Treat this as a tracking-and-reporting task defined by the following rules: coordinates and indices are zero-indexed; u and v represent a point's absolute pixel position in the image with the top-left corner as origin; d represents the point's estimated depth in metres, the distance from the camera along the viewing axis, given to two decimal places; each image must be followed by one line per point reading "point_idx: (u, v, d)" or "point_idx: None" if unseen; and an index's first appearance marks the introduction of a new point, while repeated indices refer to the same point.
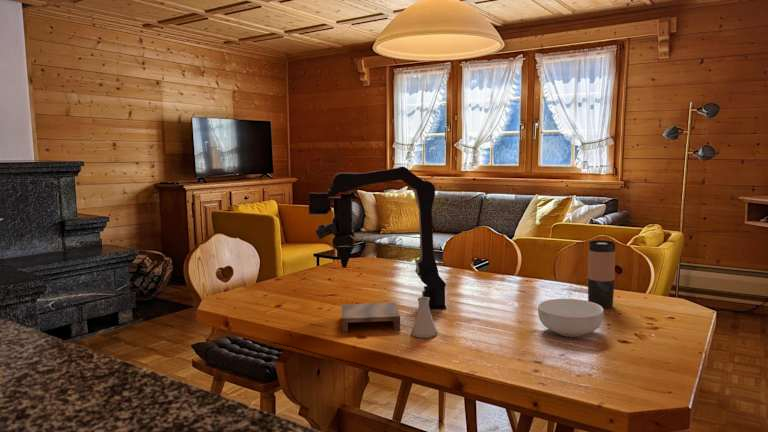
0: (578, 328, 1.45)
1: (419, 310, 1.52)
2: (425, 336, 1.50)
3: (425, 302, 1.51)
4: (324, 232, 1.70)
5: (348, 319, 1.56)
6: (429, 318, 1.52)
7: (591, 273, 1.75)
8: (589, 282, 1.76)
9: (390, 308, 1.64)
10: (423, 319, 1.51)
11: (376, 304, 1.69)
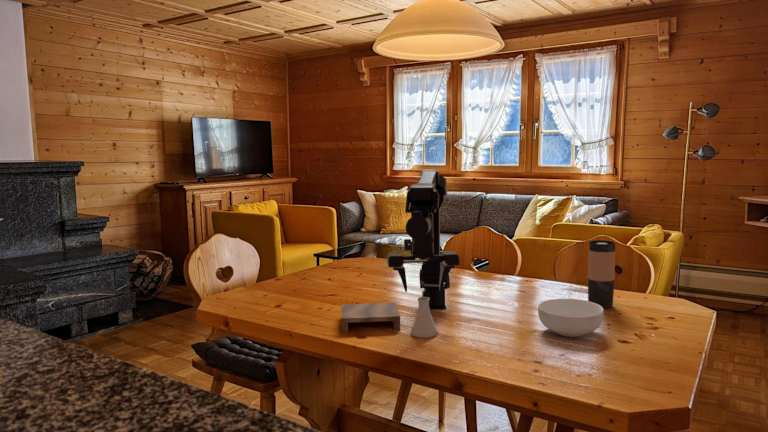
0: (578, 328, 1.45)
1: (419, 310, 1.52)
2: (425, 336, 1.50)
3: (425, 302, 1.51)
4: (404, 248, 1.56)
5: (348, 319, 1.56)
6: (429, 318, 1.52)
7: (591, 273, 1.75)
8: (589, 282, 1.76)
9: (390, 308, 1.64)
10: (423, 319, 1.51)
11: (376, 304, 1.69)
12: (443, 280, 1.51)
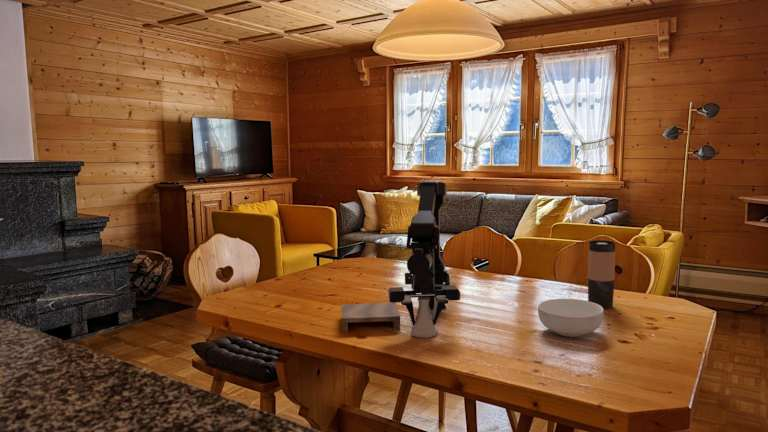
0: (578, 328, 1.45)
1: (419, 310, 1.52)
2: (425, 336, 1.50)
3: (425, 302, 1.51)
4: (405, 281, 1.57)
5: (348, 319, 1.56)
6: (429, 318, 1.52)
7: (591, 273, 1.75)
8: (589, 282, 1.76)
9: (390, 308, 1.64)
10: (423, 318, 1.51)
11: (376, 304, 1.69)
12: (437, 315, 1.52)
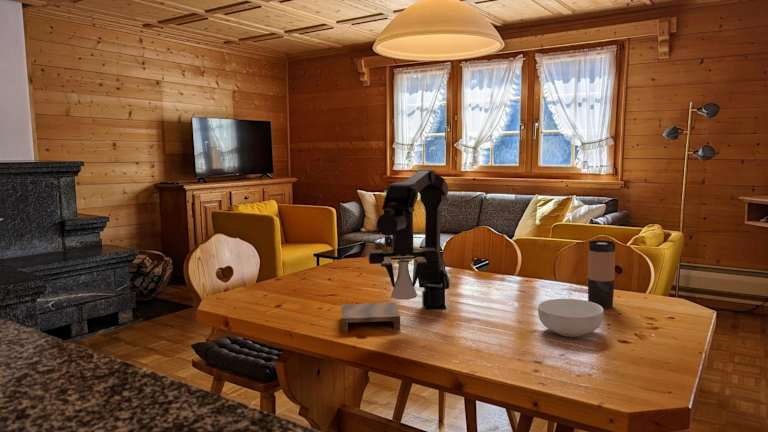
0: (578, 328, 1.45)
1: (399, 273, 1.54)
2: (405, 298, 1.53)
3: (405, 264, 1.54)
4: (385, 244, 1.59)
5: (348, 319, 1.56)
6: (409, 280, 1.54)
7: (591, 273, 1.75)
8: (589, 282, 1.76)
9: (390, 308, 1.64)
10: (403, 281, 1.53)
11: (376, 304, 1.69)
12: (416, 276, 1.54)
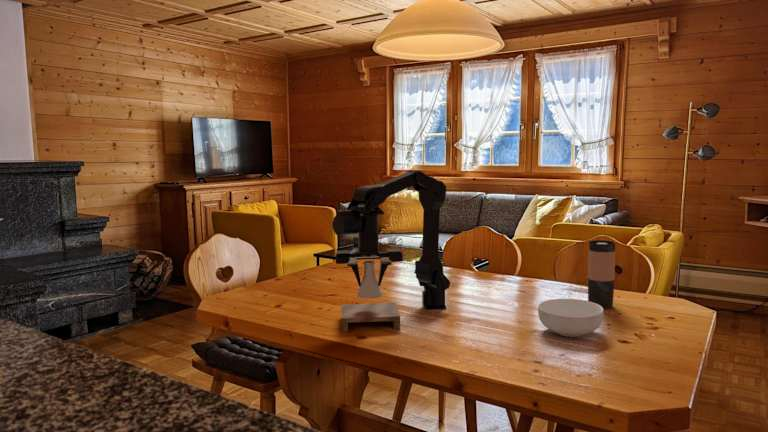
0: (578, 328, 1.45)
1: (365, 273, 1.61)
2: (370, 297, 1.59)
3: (370, 265, 1.60)
4: (353, 245, 1.66)
5: (348, 319, 1.56)
6: (374, 280, 1.61)
7: (591, 274, 1.75)
8: (589, 282, 1.76)
9: (390, 308, 1.64)
10: (368, 281, 1.60)
11: (376, 304, 1.69)
12: (381, 276, 1.61)
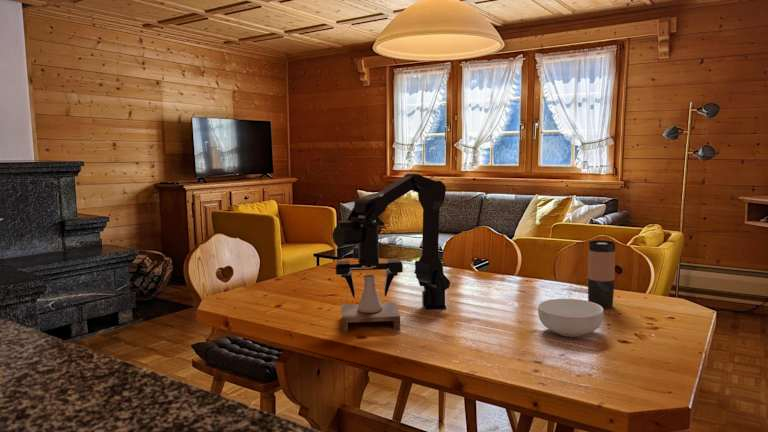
0: (578, 328, 1.45)
1: (365, 287, 1.61)
2: (371, 311, 1.60)
3: (371, 279, 1.61)
4: (353, 256, 1.67)
5: (348, 319, 1.56)
6: (374, 294, 1.61)
7: (591, 273, 1.75)
8: (589, 282, 1.76)
9: (390, 308, 1.64)
10: (369, 295, 1.61)
11: None
12: (387, 286, 1.61)
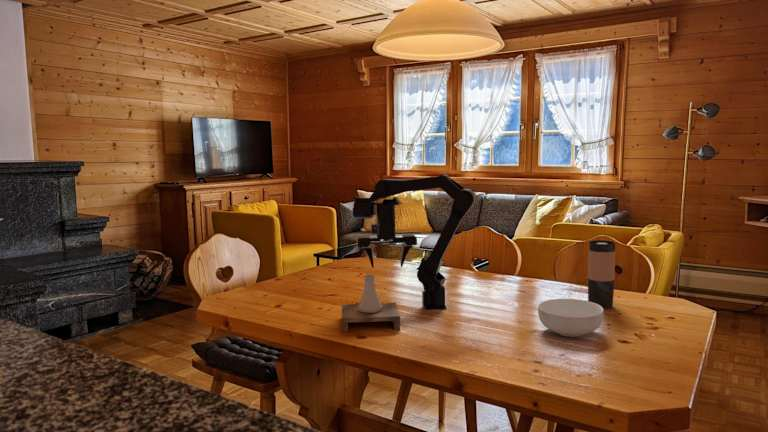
0: (578, 328, 1.45)
1: (365, 287, 1.61)
2: (371, 311, 1.60)
3: (370, 279, 1.61)
4: (371, 231, 1.86)
5: (348, 319, 1.56)
6: (374, 294, 1.61)
7: (591, 273, 1.75)
8: (589, 282, 1.76)
9: (390, 308, 1.64)
10: (369, 295, 1.61)
11: None
12: (403, 258, 1.81)
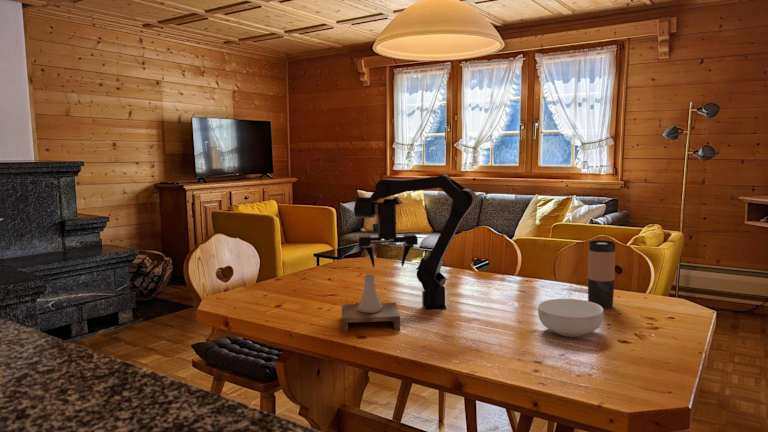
0: (578, 328, 1.45)
1: (365, 287, 1.61)
2: (371, 311, 1.60)
3: (370, 279, 1.61)
4: (373, 231, 1.87)
5: (348, 319, 1.56)
6: (374, 294, 1.61)
7: (591, 273, 1.75)
8: (589, 282, 1.76)
9: (390, 308, 1.64)
10: (369, 295, 1.61)
11: None
12: (404, 257, 1.82)
